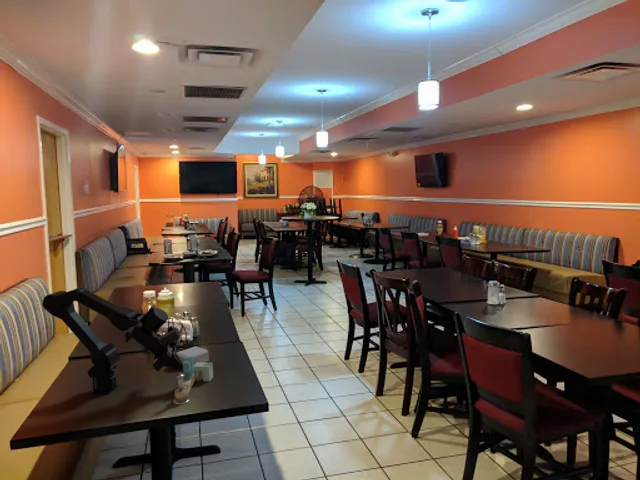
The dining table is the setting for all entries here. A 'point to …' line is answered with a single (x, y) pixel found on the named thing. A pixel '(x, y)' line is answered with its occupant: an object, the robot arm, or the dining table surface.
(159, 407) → the dining table surface
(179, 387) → the pintle
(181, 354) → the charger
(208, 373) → the block
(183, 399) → the link
